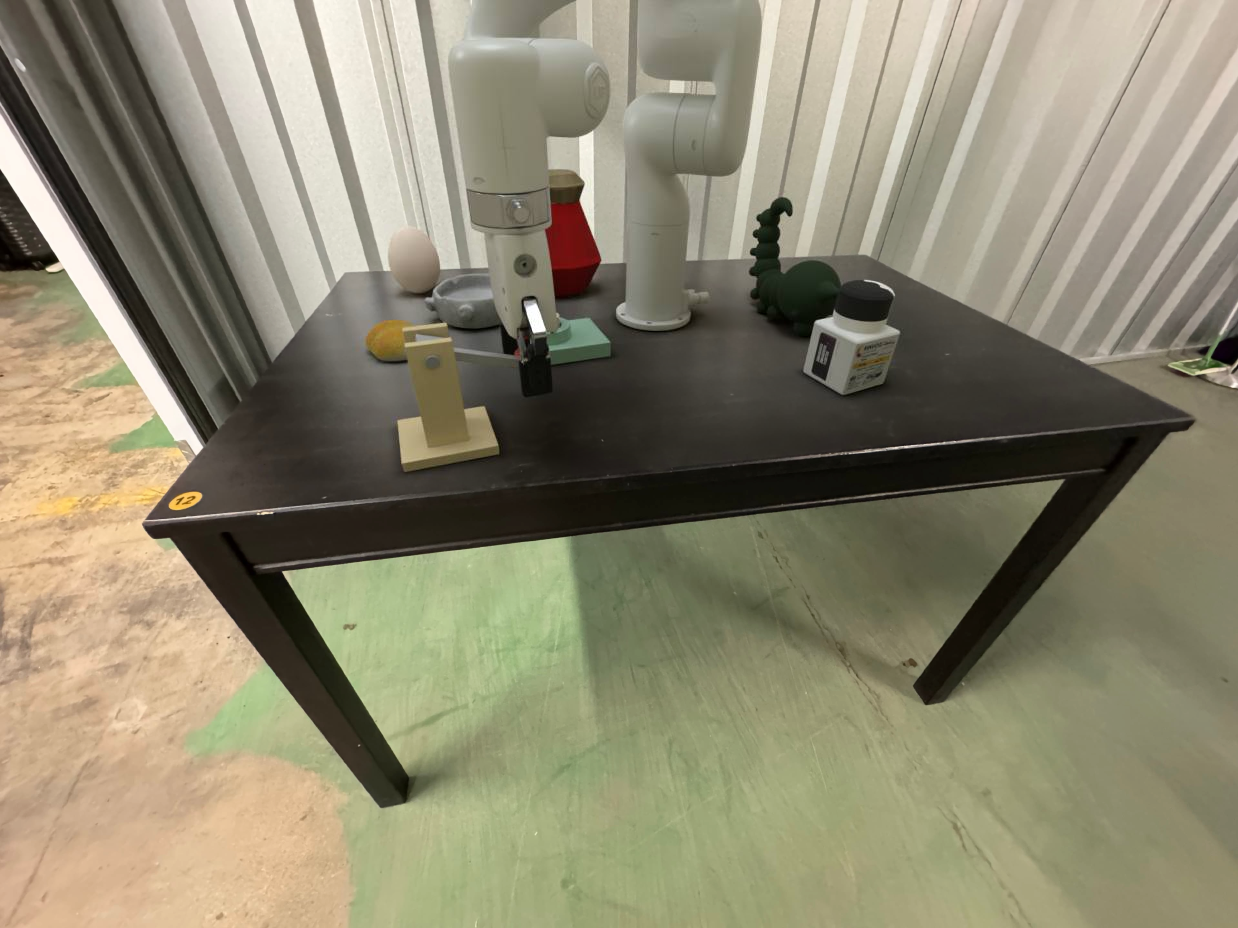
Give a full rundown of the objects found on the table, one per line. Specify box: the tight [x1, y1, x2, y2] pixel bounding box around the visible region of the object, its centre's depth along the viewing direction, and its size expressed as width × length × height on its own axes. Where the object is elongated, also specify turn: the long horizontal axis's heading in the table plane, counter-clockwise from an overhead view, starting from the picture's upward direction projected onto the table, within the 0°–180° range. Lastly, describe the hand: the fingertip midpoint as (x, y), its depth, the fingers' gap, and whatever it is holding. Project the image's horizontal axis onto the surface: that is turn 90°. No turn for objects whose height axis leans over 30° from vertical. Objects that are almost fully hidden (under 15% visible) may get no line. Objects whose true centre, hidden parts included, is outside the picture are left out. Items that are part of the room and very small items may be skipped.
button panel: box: [530, 316, 612, 366], centre depth 82 cm, size 12×10×4 cm
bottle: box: [544, 168, 602, 299], centre depth 98 cm, size 16×14×20 cm
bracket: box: [397, 322, 500, 473], centre depth 58 cm, size 10×9×13 cm
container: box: [802, 279, 901, 396], centre depth 72 cm, size 8×8×13 cm
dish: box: [424, 273, 503, 329], centre depth 91 cm, size 14×14×5 cm
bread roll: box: [364, 319, 415, 362], centre depth 80 cm, size 8×9×4 cm
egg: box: [387, 225, 441, 294], centre depth 98 cm, size 9×9×12 cm
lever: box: [415, 334, 521, 369], centre depth 58 cm, size 12×5×2 cm, turn 110°
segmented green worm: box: [748, 196, 842, 337], centre depth 88 cm, size 9×19×25 cm
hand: (527, 373), depth 61 cm, fingers open, 9 cm apart
